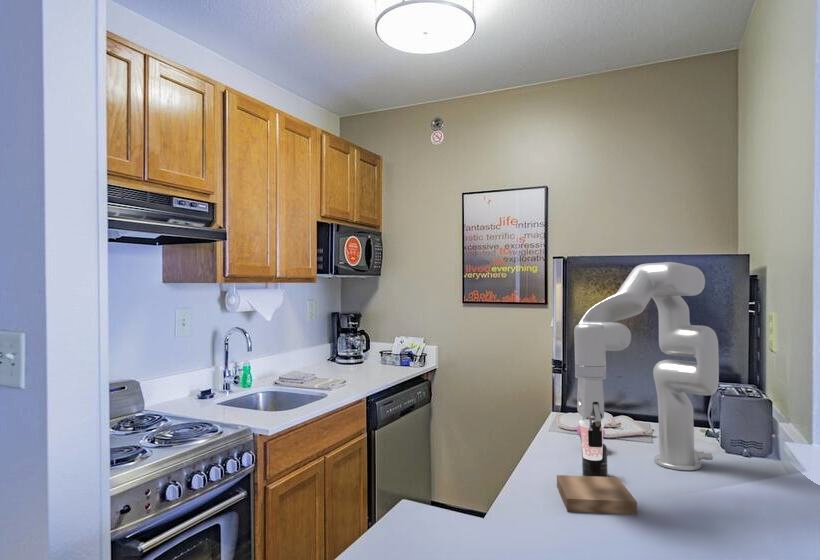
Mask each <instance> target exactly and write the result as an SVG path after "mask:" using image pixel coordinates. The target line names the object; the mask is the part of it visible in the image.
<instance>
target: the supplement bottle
mask: <svg viewBox="0 0 820 560" xmlns="http://www.w3.org/2000/svg"><path fill="white" fill-rule="evenodd" d="M581 459H582V460H581V465H582V466H581V469H582V472H581V473H582V476H598V477H609V473H608V469H609V468H608V447H607V445H606V444H605V443H603V452H602V460H597V461H594V460H588V459H585V458H583V450H582V449H581Z"/></svg>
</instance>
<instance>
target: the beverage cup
mask: <svg viewBox="0 0 820 560" xmlns="http://www.w3.org/2000/svg"><path fill="white" fill-rule="evenodd" d="M591 418H593V416H591ZM593 422H594V421H592V423H593ZM605 424H606V423H605V422H604V421H602V420H601V427H602V447H589V445H588V430H589V420H588V419H585V420H583V419H581V420H579V421H578V425H580V427H581V438H582V443H581V451H582V450H583V458H585V459H588V460H594V461H597V460H602V452H603V444H604V437H603V429H604V427H605ZM581 438H580V439H581Z"/></svg>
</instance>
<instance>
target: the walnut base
mask: <svg viewBox="0 0 820 560" xmlns="http://www.w3.org/2000/svg"><path fill="white" fill-rule="evenodd" d="M556 488H557V489H558V492H559V495H560V497H561V500H562V502H563V504H564V507H565V510H566V512H575V513H576V512H577V513H596V514H597V513H598V514H599V513H600V514H617V515H618V514H621V515H638V503H637V501H638V500H636V499H635V497H634V496H633V494H632V493H631V492H630V491H629V490H628V488H627V487H626V485H625V484H624V482H623V481H622V480H621V479H620V478H619V477H618V476H607V477H598V476H584V475H568V474H567V475H565V474H563V475H562V474H556Z"/></svg>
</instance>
